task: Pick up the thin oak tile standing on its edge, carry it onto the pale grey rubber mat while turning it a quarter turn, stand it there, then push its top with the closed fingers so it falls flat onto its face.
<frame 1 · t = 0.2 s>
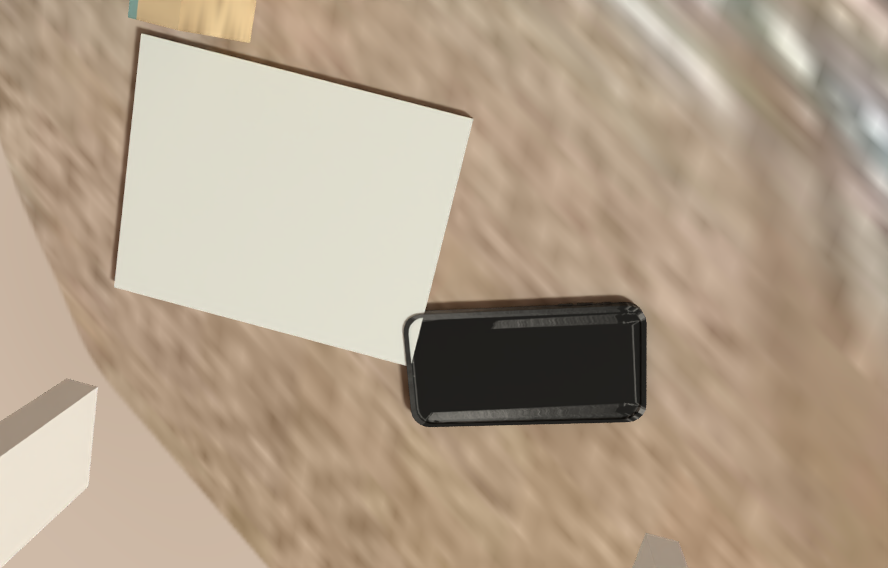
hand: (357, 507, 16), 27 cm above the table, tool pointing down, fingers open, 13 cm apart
mat: (285, 206, 42), on the table
phone: (524, 360, 44), on the table
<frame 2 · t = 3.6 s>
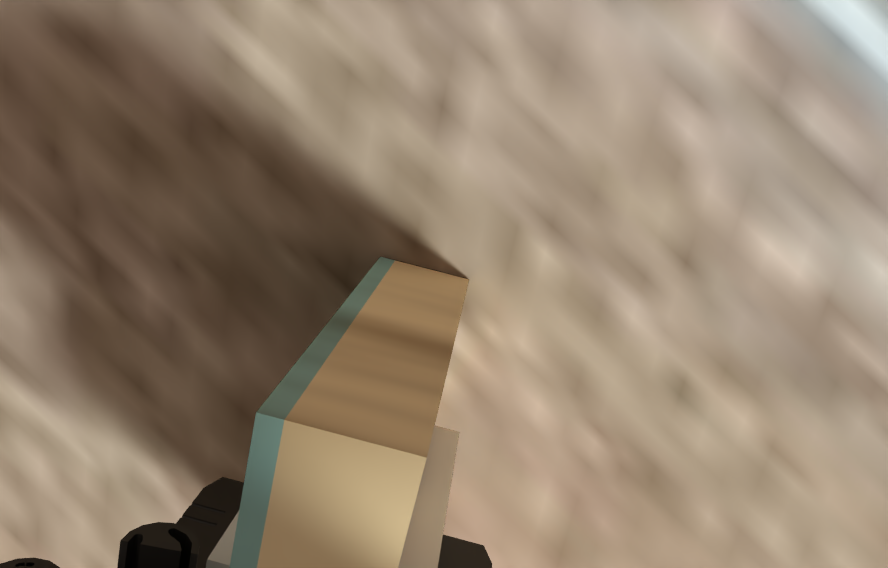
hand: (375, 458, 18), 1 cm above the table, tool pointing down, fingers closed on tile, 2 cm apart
tile: (385, 433, 19), on the table, touching gripper
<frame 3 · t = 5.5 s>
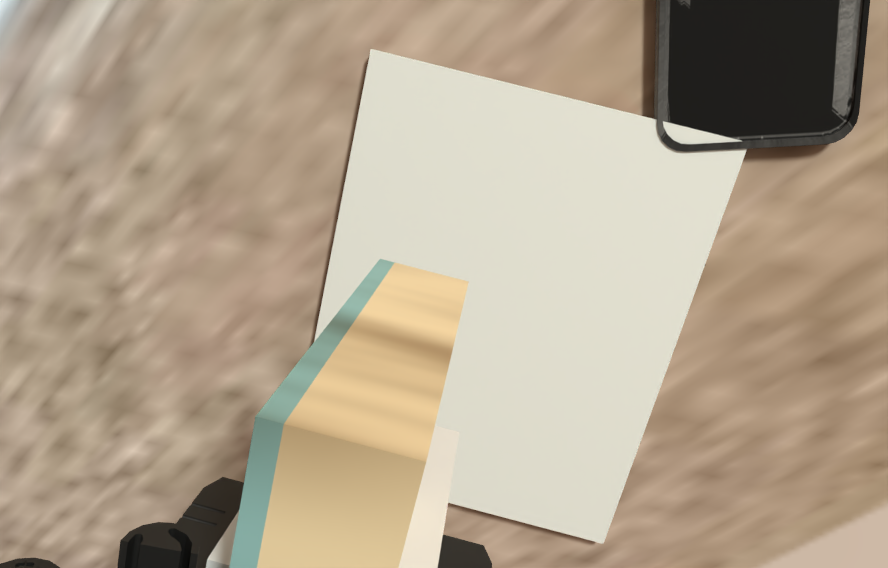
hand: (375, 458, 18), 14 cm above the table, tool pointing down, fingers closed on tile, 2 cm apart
mat: (497, 313, 32), on the table
tile: (384, 435, 19), point 13 cm above the table, touching gripper
when the fingers open (3 cm above the table, at t = 7.6 s): tile stays where it is, resting on mat.
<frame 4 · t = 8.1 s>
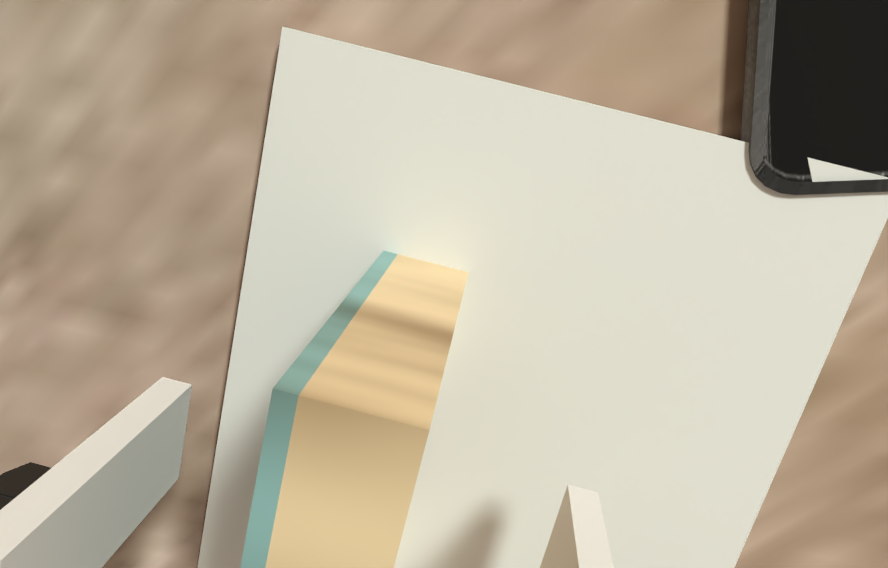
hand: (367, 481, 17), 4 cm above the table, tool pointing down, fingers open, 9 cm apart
mat: (489, 435, 21), on the table
tile: (388, 420, 20), point 1 cm above the table, touching mat
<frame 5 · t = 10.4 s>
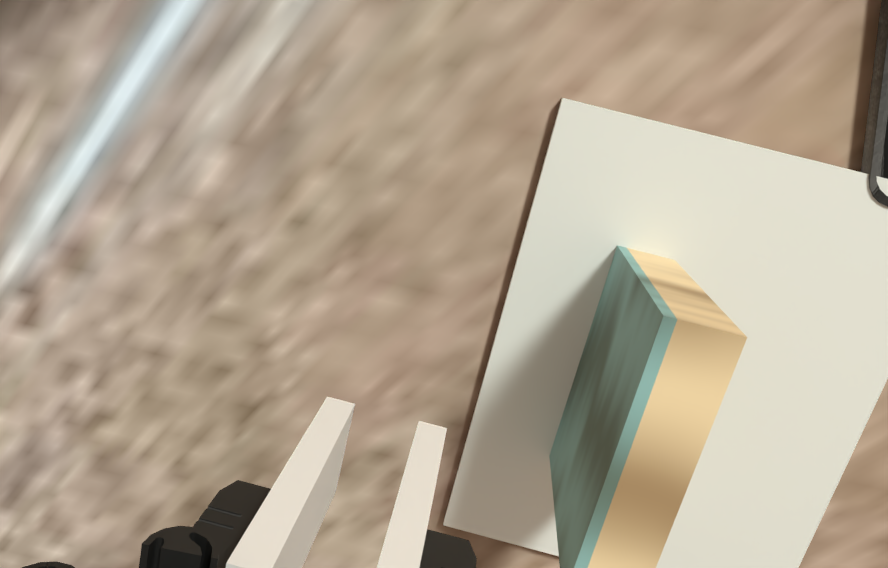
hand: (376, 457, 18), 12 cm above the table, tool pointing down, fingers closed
mat: (676, 374, 30), on the table
tile: (608, 362, 29), point 1 cm above the table, touching mat
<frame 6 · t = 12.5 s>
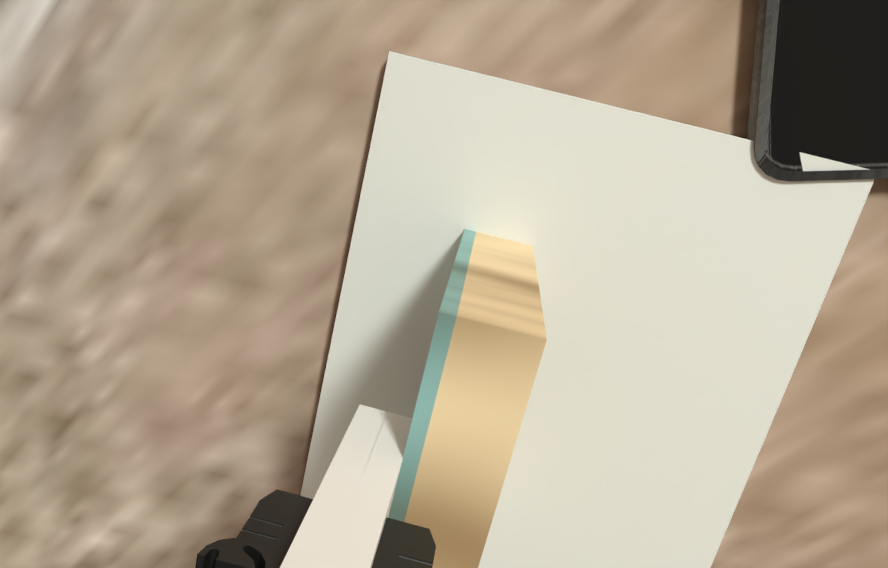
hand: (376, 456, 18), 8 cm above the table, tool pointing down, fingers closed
mat: (545, 381, 25), on the table
tile: (463, 368, 25), point 1 cm above the table, touching gripper, mat
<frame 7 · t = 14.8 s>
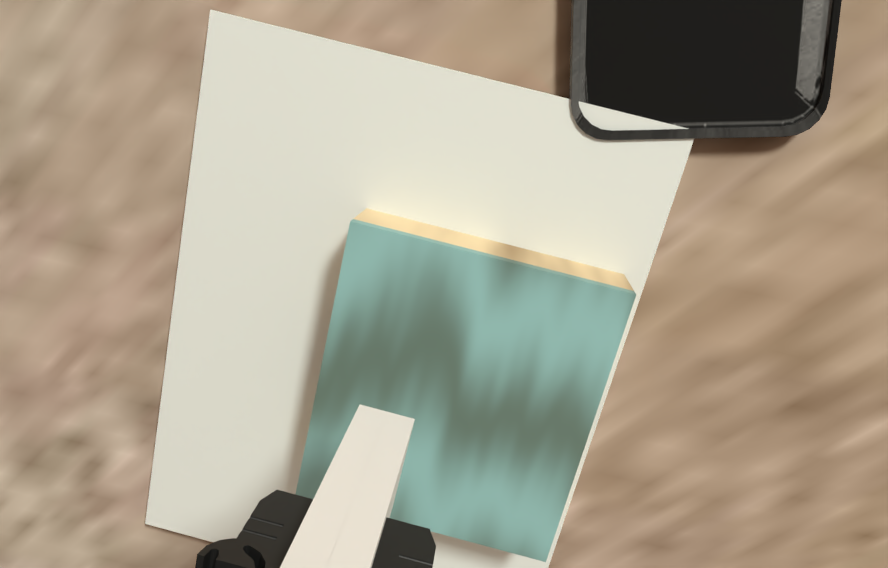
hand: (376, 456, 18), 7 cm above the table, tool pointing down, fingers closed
mat: (389, 346, 25), on the table
tile: (330, 353, 24), point 2 cm above the table, tilted 90°, touching mat
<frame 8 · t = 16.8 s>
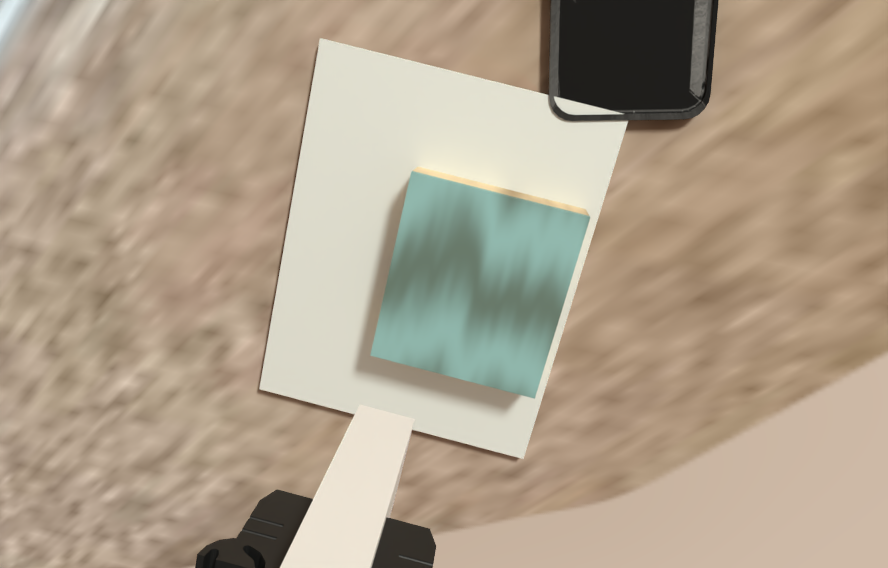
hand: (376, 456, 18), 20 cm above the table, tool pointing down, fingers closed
mat: (430, 261, 38), on the table
tile: (393, 261, 36), point 2 cm above the table, tilted 90°, touching mat
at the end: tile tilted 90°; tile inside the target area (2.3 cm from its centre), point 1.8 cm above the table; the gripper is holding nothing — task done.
